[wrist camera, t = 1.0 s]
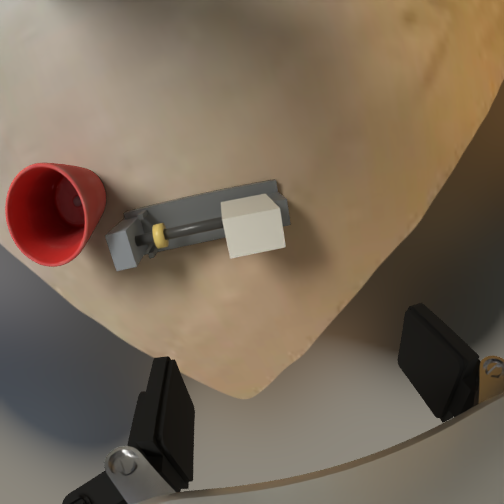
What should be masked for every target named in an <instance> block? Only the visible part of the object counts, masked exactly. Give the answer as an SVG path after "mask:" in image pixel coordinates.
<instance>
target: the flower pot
mask: <svg viewBox="0 0 504 504" xmlns="http://www.w3.org/2000/svg"><path fill="white" fill-rule="evenodd" d="M105 205H106V193H105V189H104V186H103V184H102V182H101V180H100V179H99V177H98V176H97V175H96V174H95V173H94V172H92V171H91V170H88V169H86V168H81V167H77V166H71V165H64V164H55V163H36V164H33V165H30V166H28V167H26V168H24V169H23V170H22V171H21V172H19V173H18V175H17V176H16V177H15V178H14V180H13V182H12V183H11V185H10V188H9V191H8V194H7V198H6V208H5V211H6V221H7V225H8V229H9V232H10V234H11V237H12V239H13V241H14V242H15V244H16V245H17V247H18V248H19V249H20V250H21V252H22V253H23V254H24V255H25V256H27V257H28V258H29V259H31V260H32V261H34V262H36V263H38V264H40V265H44V266H51V267H55V266H61V265H64V264H66V263H69V262H70V261H72V260H73V259H74V258H76V257H77V256H78V255H79V254H80V252H81V251H82V250H83V248H84V246H85V245H86V243H87V241H88V240H89V238H90V236H91V234H92V233H93V231H94V229H95V227H96V225H97V224H98V222H99V220H100V218H101V216H102V214H103V212H104V209H105Z"/></svg>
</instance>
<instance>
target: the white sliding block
mask: <svg viewBox="0 0 504 504" xmlns="http://www.w3.org/2000/svg"><path fill="white" fill-rule="evenodd" d="M221 213H222V222H223V227H224V231H225V236H226V241H227V246H228V250H229V255H230V259H231V258H236V257H241V256H246V255H250V254H255V253H260V252H265V251H270V250H275V249H280V248H285V247H286V246H285V239H284V232H283V225H282V218H281V212H280V208H279V207H278V206H277V205H276V204H275V203H274V202H273V201H272V200H271V199H270V198H269V197H268V196H267V195H266V194H260V195H255V196H250V197H245V198H239V199H234V200H229V201H225V202H221Z"/></svg>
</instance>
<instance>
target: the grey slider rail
mask: <svg viewBox="0 0 504 504" xmlns="http://www.w3.org/2000/svg"><path fill="white" fill-rule="evenodd" d="M260 194H266V195H267V196H268V197H269V198H270V199H271V200H272V201H273V202H274V203H275V204H276V205H277V206H278V207H279V208H280V212H281V218H282V225H283V226H288V225H291V224H290V217H289V210H288V203H287V199H286V198H285V197H284V196H283V195H281V194H280V193H279V192H278V189H277V182H276V180H275V179H273V180H268V181H262V182H256V183H251V184H246V185H241V186H235V187H230V188H225V189H220V190H216V191H211V192H206V193H201V194H197V195H192V196H188V197H183V198H179V199H175V200H170V201H166V202H162V203H158V204H154V205H150V206H146V207H142V208H138V209H134V210H130V211H126V212H125V213H124V217H125V219H123V220H122V221H121V222H120V223H118V224H117V225H116V226H115V227H114V228H113V229H112V230H111V231H110V232H108V233H107V234H106V235H105V237H106V240H107V244H108V247H109V250H110V253H111V256H112V259H113V262H114V265H115V268H116V271H119V270H124V269H129V268H133V267H137V266H138V264H139V262H140V260H141V259H142V257H143V255H146V254H148V255H149V258H154V257H155V255H156V253H157V252H159V251H164V250H169V249H173V248H178V247H183V246H187V245H192V244H197V243H202V242H206V241H211V240H216V239H221V238H226V236H225V231H224V227H223V222H222V213H221V202H225V201H229V200H234V199H239V198H245V197H250V196H255V195H260Z"/></svg>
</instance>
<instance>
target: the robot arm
mask: <svg viewBox="0 0 504 504" xmlns="http://www.w3.org/2000/svg"><path fill="white" fill-rule="evenodd" d="M478 358H479V356H478V354H477V353H476V352H474V351H473V350H472V349H471V348H470V347H469V346H468V345H467V344H466V343H465V342H464V341H463V340H462V339H461V338H460V337H459V336H458V335H457V334H456V333H455V332H453V331H452V330H451V329H450V328H449V327H448V326H447V325H446V324H445V323H444V322H443V321H442V320H441V319H439V318H438V317H437V316H436V315H435V314H434V313H433V312H432V311H430V310H429V309H428V308H427V307H426V306H425V305H424V304H422V303H419V304H416V305H413V306H410V307H409V308H408V310H407V311H406V312H405V317H404V324H403V331H402V337H401V343H400V349H399V355H398V364H399V366H400V368H401V369H402V371H403V372H404V373H405V375H406V376H407V377H408V379H409V380H410V382H411V383H412V384H413V386H414V387H415V389H416V390H417V391H418V393H419V394H420V396H421V397H422V398H423V400H424V401H425V403H426V404H427V405H428V407H429V408H430V410H431V411H432V412H433V414H434V415H435V417H437V418H440V419H441V421H442V422H445V421H446V422H445V423H443V424H441V425H439V426H437V427H435V428H433V429H431V430H429V431H427V432H425V433H422V434H420V435H418V436H416V437H414V438H412V439H409V440H407V441H405V442H402V443H400V444H397V445H395V446H392V447H390V448H388V449H385V450H382V451H380V452H377V453H375V454H371V455H369V456H366V457H363V458H360V459H357V460H354V461H351V462H348V463H344V464H341V465H338V466H334V467H331V468H328V469H324V470H320V471H316V472H312V473H308V474H303V475H299V476H294V477H290V478H285V479H280V480H274V481H269V482H262V483H256V484H249V485H242V486H235V487H226V488H216V489H205V490H195V491H185V492H180V490H181V489H187V488H188V482H189V481H193V450H194V418H195V410H194V405H193V403H192V401H191V398H190V396H189V394H188V391H187V388H186V386H185V384H184V381H183V379H182V376H181V374H180V371H179V368H178V366H177V363H176V361H175V360H171V359H170V357H159V358H154V360H153V364H152V369H151V372H150V377H149V381H148V385H147V390H146V392H141V393H140V394H139V397H138V401H137V405H136V409H135V414H134V418H133V422H132V427H131V431H130V436H129V441H128V446H122V447H118V448H116V449H113V450H112V451H111V452H110V453H109V454H108V455H107V457H106V459H105V462H104V468H105V471H104V472H102V473H101V474H99V475H98V476H96V477H95V478H93V479H92V480H90V481H88V482H87V483H85V484H84V485H82V486H81V487H79V488H77V489H76V490H74V491H72V492H71V493H69V494H68V495H67V496H66V497H65V499H64V500H63V503H62V504H504V359H502V358H500V357H497V356H488V357H485V358H484V359H482V361H480V360H479V359H478ZM453 416H454V418H453ZM451 418H452V419H451ZM449 419H450V420H449ZM447 420H449V421H447Z"/></svg>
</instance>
